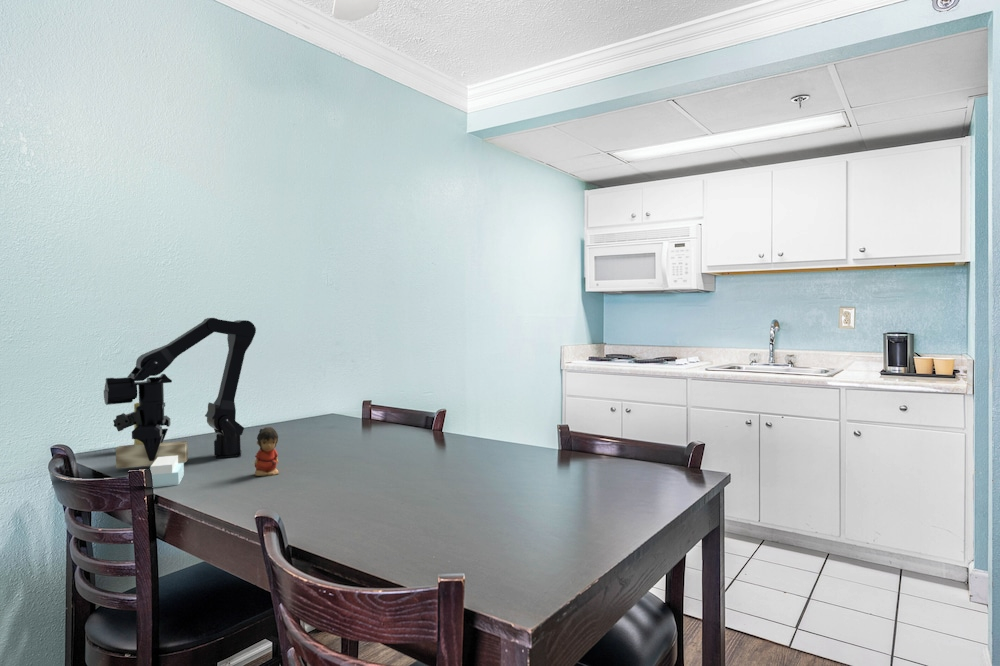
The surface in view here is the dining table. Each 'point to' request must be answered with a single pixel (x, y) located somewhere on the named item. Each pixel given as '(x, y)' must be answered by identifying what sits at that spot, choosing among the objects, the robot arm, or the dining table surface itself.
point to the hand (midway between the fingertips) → (153, 458)
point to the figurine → (266, 452)
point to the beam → (138, 455)
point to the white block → (167, 471)
